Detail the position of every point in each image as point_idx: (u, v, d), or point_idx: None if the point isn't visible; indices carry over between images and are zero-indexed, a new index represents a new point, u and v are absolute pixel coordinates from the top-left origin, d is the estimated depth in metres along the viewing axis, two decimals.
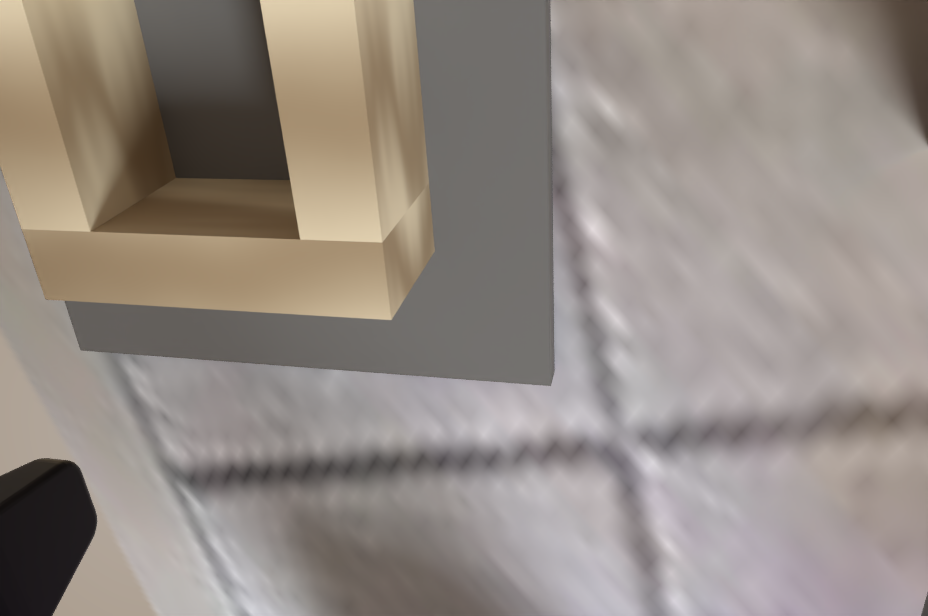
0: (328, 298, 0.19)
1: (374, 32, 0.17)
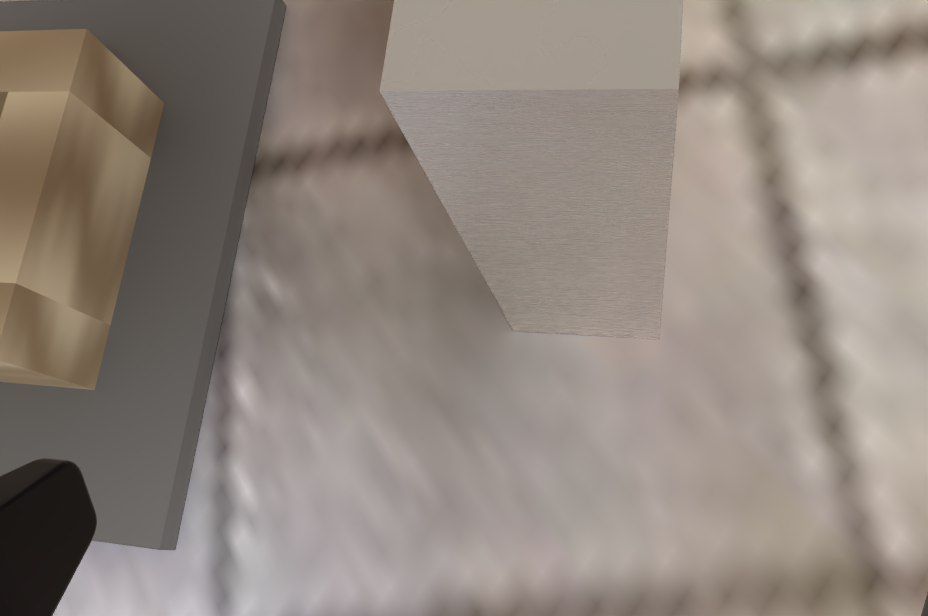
0: None
1: (81, 147, 0.23)
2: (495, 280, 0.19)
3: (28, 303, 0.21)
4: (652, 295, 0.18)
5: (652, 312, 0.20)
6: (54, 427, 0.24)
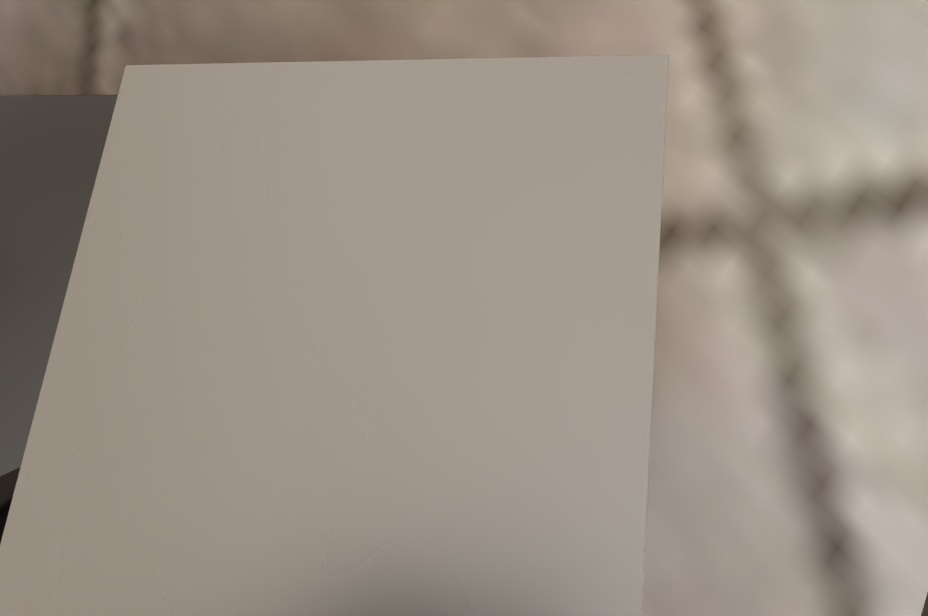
0: None
1: None
2: None
3: None
4: None
5: None
6: None
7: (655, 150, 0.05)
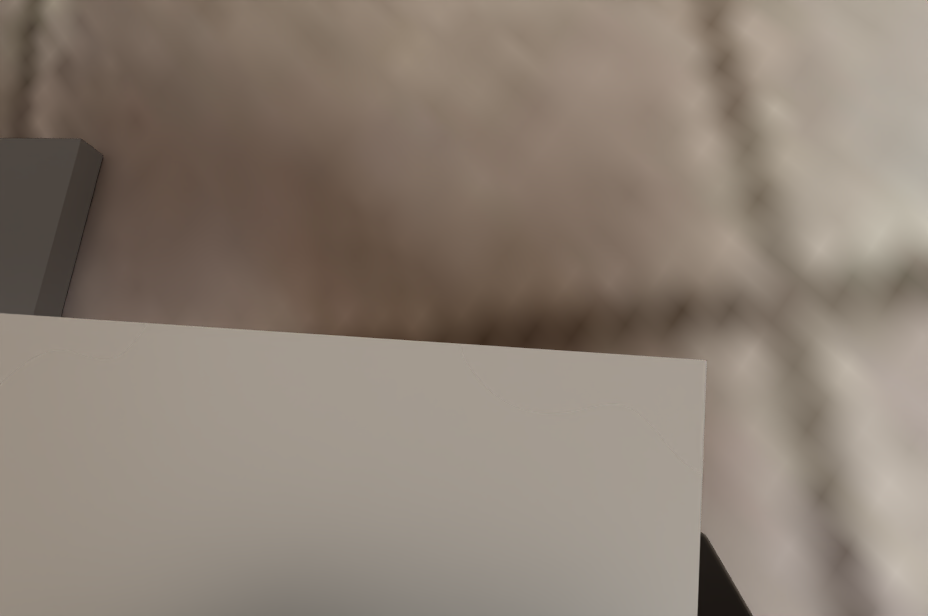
0: None
1: None
2: None
3: None
4: None
5: None
6: None
7: (679, 581, 0.02)
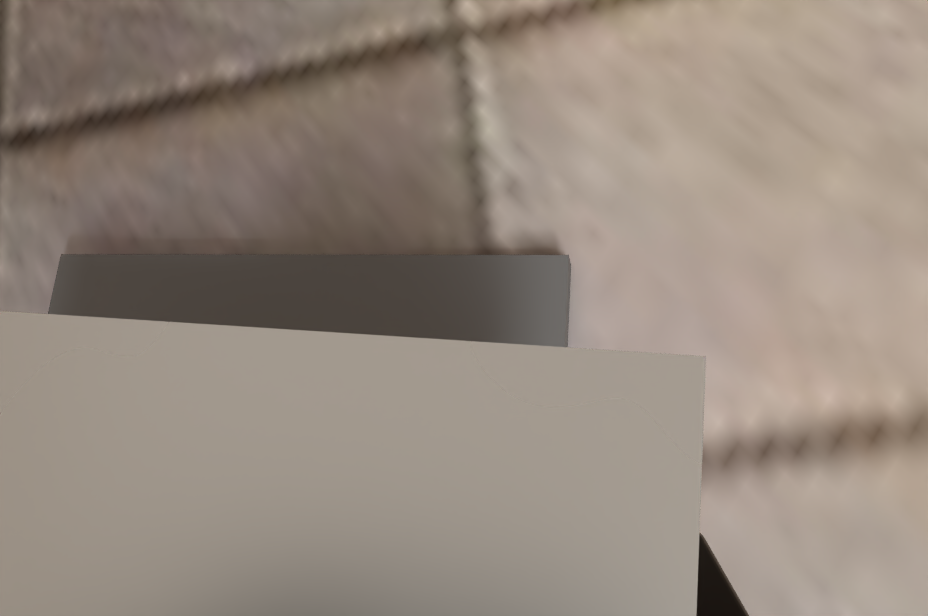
0: None
1: None
2: None
3: None
4: None
5: None
6: None
7: (681, 566, 0.03)
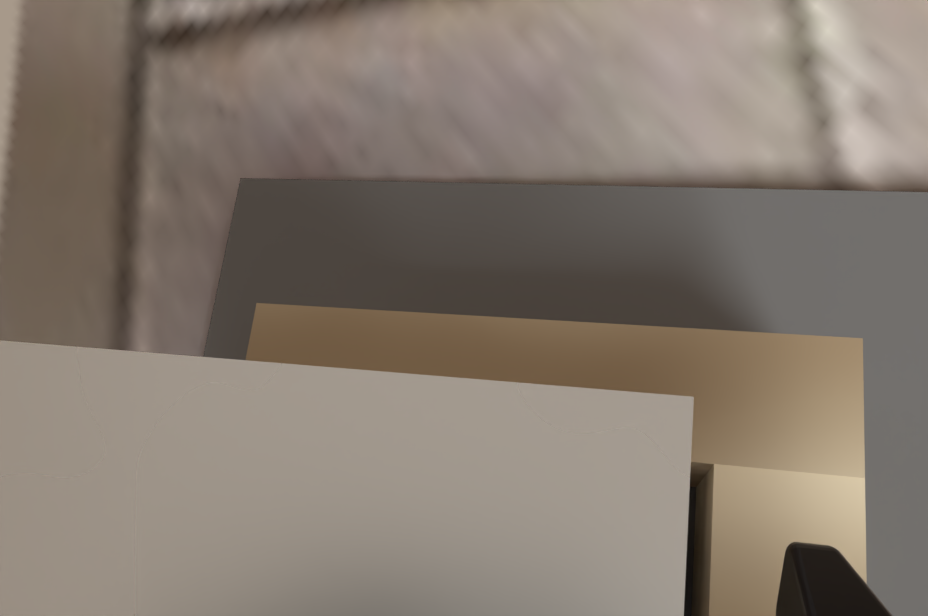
0: None
1: None
2: None
3: None
4: None
5: None
6: None
7: (673, 551, 0.04)
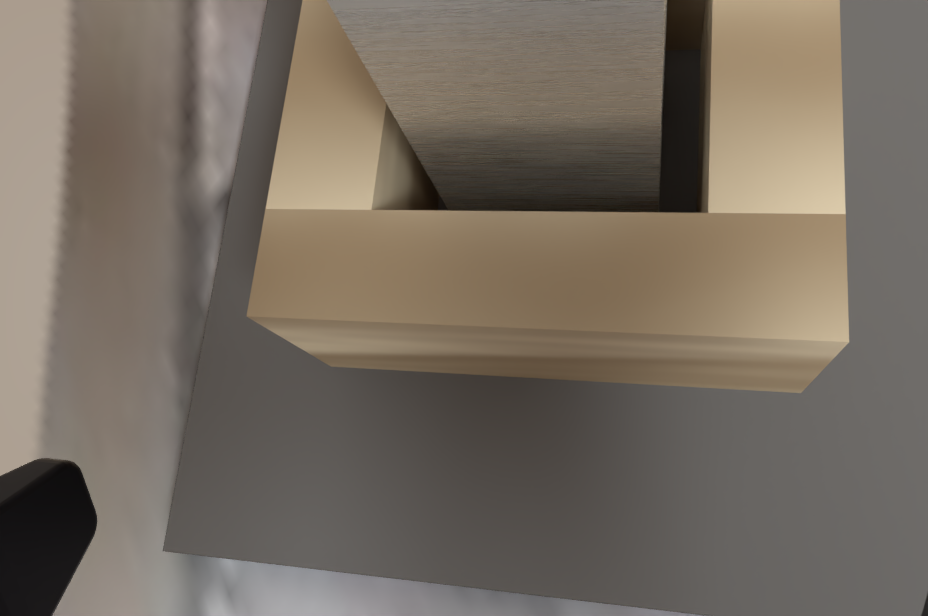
0: (738, 306, 0.12)
1: None
2: (430, 154, 0.14)
3: None
4: (644, 170, 0.13)
5: (646, 202, 0.15)
6: (743, 452, 0.15)
7: None
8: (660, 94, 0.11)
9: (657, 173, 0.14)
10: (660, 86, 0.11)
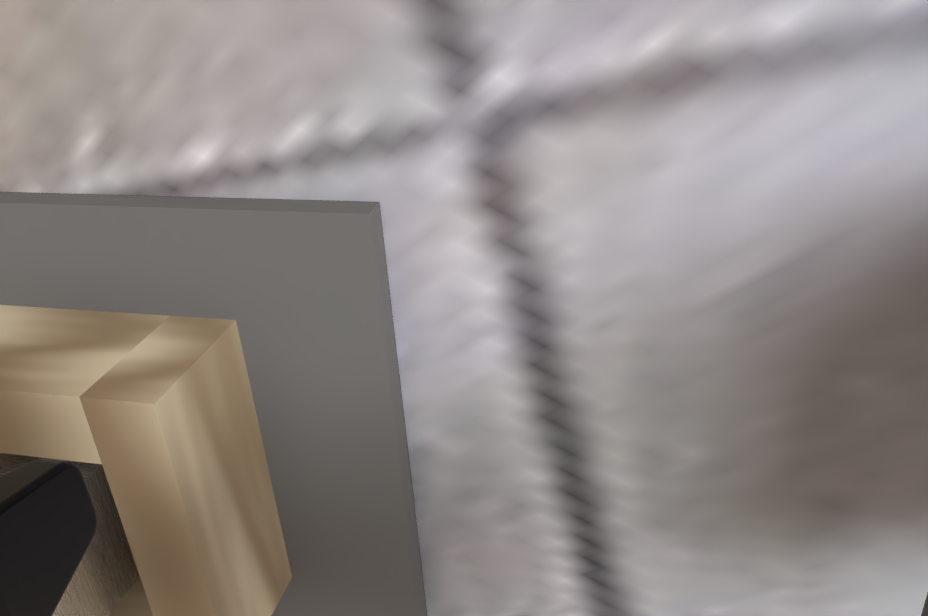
0: (152, 454, 0.20)
1: None
2: (110, 604, 0.22)
3: (108, 384, 0.20)
4: (88, 488, 0.21)
5: None
6: (283, 355, 0.22)
7: None
8: None
9: (89, 478, 0.21)
10: None
